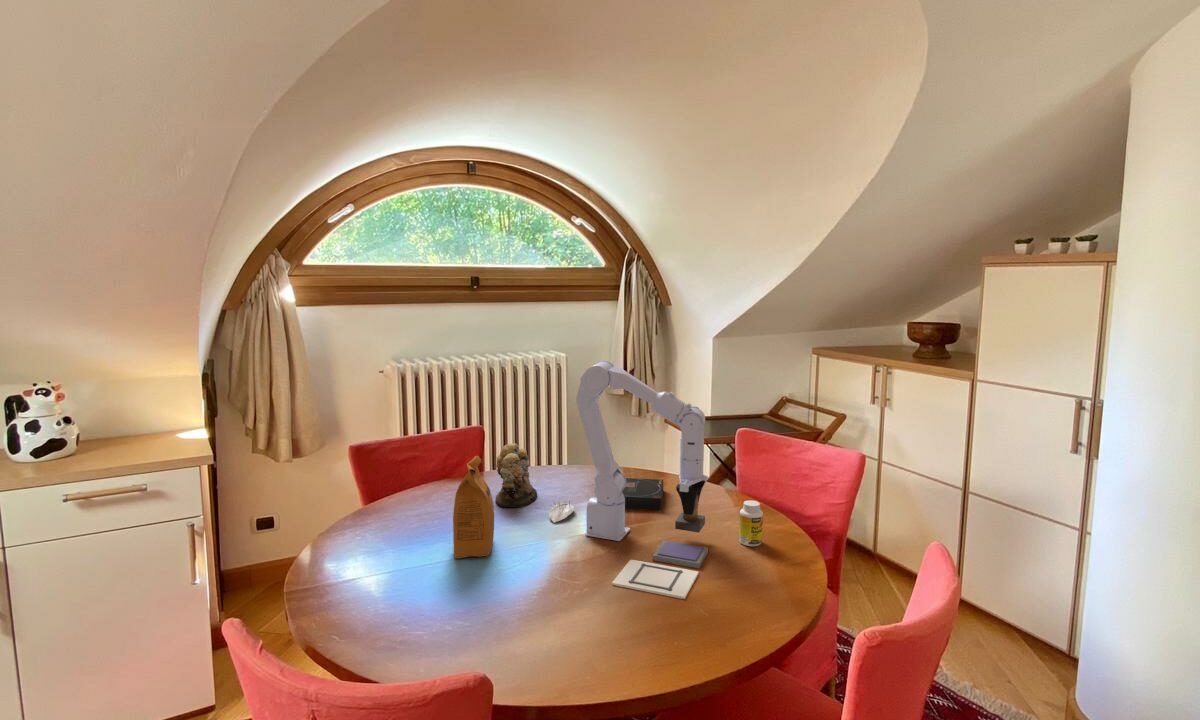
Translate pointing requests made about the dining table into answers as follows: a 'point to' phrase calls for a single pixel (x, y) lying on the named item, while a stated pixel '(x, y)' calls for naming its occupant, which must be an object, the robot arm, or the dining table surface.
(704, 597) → the dining table surface
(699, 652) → the dining table surface
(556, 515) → the pincushion
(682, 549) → the ink pad
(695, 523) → the stamp
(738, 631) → the dining table surface
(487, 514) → the coffee package
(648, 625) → the dining table surface
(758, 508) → the supplement bottle
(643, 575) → the marked board
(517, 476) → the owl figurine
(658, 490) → the portable cd player
